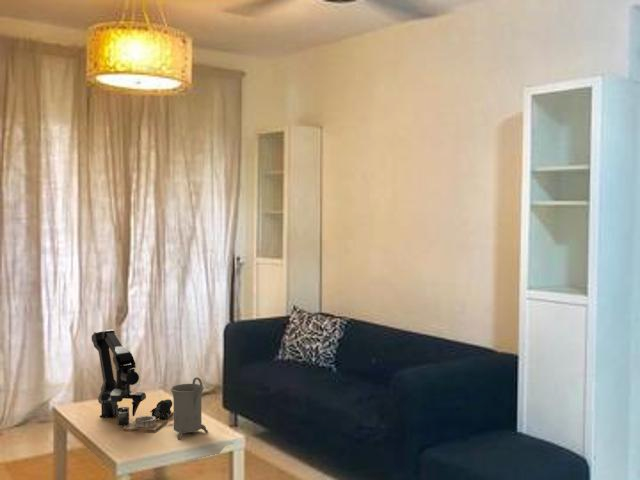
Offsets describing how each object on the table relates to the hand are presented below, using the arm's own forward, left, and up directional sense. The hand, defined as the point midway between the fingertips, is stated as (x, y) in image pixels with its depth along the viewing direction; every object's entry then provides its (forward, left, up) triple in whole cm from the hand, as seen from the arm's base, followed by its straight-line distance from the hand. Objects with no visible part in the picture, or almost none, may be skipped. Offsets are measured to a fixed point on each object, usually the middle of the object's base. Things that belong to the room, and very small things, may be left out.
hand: (123, 415), depth 293 cm
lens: (0, 0, -4) cm, 4 cm away
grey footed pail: (+33, -9, -4) cm, 35 cm away
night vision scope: (+13, +12, -4) cm, 18 cm away
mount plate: (+11, -2, -4) cm, 12 cm away
